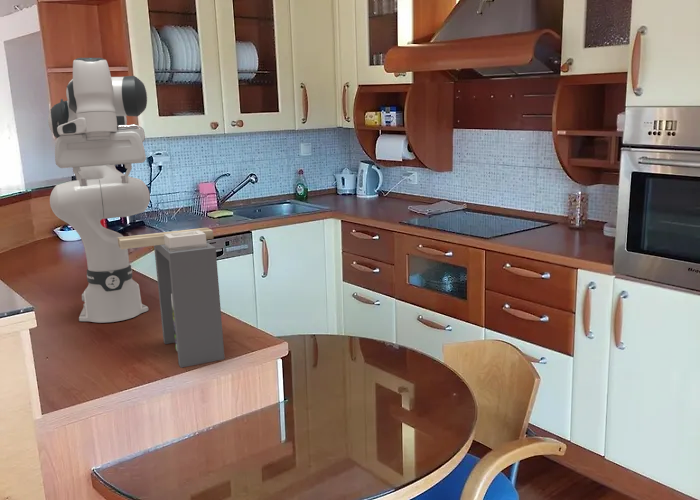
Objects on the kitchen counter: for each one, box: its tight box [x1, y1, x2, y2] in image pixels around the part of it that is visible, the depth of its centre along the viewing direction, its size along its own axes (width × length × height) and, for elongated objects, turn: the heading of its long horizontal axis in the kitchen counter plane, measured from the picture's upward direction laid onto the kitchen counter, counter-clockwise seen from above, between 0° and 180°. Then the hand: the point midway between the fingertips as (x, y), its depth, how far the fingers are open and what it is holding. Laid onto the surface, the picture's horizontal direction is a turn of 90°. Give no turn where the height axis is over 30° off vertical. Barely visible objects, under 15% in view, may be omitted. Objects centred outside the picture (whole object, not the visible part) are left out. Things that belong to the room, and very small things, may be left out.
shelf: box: [153, 241, 226, 368], centre depth 156 cm, size 20×10×26 cm, turn 26°
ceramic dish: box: [164, 230, 207, 252], centre depth 149 cm, size 6×8×3 cm
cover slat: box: [118, 227, 214, 250], centre depth 156 cm, size 5×21×2 cm, turn 116°
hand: (104, 184), depth 159 cm, fingers open, 8 cm apart
